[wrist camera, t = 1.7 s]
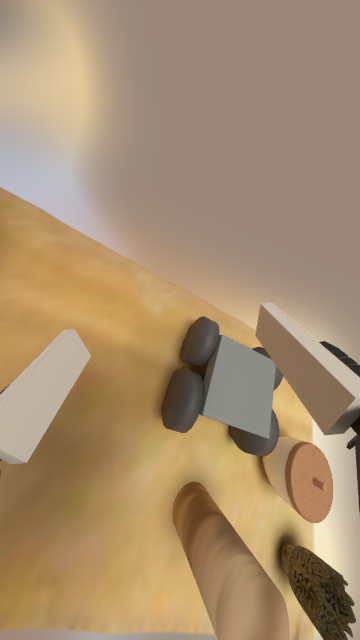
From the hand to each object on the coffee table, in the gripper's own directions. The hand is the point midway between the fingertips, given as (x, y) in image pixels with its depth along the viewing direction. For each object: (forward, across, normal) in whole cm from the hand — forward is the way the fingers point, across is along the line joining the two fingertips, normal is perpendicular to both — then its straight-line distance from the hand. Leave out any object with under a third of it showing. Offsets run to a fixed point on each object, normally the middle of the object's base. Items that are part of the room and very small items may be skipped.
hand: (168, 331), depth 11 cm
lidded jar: (+3, +16, -39) cm, 42 cm away
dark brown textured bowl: (-9, +14, -48) cm, 51 cm away
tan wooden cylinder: (-4, -2, -33) cm, 33 cm away
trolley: (+12, +5, -22) cm, 26 cm away
